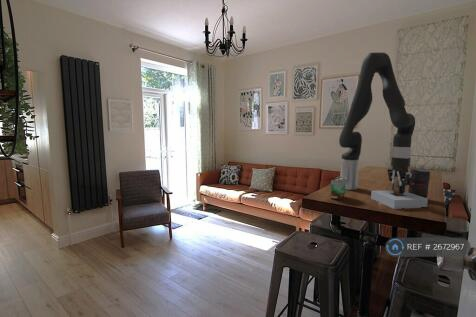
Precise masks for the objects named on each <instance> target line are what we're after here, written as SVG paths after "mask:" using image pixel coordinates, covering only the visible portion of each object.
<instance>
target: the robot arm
mask: <svg viewBox="0 0 476 317" xmlns="http://www.w3.org/2000/svg"><path fill="white" fill-rule="evenodd" d="M375 74H378V75H379V77H380V78H381V82H382V97H383V100H384V102H385V104H386V106H387V108H388V114H389V118H390V121H391V123H392V125H393V126H394V127H395V128H396V130H397V131H396V133H395V134H394V136H393V142H392V149H391V161H390V166H391V167H392V168H390V169H389V168H388V169H387V174H388V182H391V184H392V187H391V190H392V191H394V180H395V177H398V181H399V184H400V186H399V193H400V194H404V192H405V191H406V186H409V184H410V182H411V180H412V177H413V174H410V171H409V168H410V167H411V157H412V147H411V146H412V136H413V134H414V131H415V126H416V118H415V116H414V115H413V114H411V113H408V112H407V109H406V108H405V106H406V101H405V98H404V96H403V95H402V92H401V90H400V88H399V86H398V82H397V80H396V75H395V72H394V68H393V64H392V61H391V58H390V56H389V54H388V53H386V52H370V53H367V54H366V55H365V56H364V57H363V61H362V63H361V67H360V73H359V76H358V82H357V85H356V88H355V92H354V95H353V98H352V102H351V104H350V107H349V108H350V109H349V112H348V115H347V118H346V120H345V123H344V125H343V127H342V130H341V132H340V135H339V138H338V142H339V143H338V145H339V146H340V147H341V148H344V149H348V151H346V152H344V153H342V154H341V160H340V161H341V163H340V164H341V165H340V175H339V177H344V178H346V180H347V184H346V187H345V190H347V191H348V190H349V191H353V190H354V191H355V190H357V189H358V182H359V163H360V161H359V160H360V156H361V152H362V144H363V137H362V134H361V133H360V131H354V129H355V128H356V126H357V125H358V124H359V123H360V122H361V121H362V120H363V119H364V118H365V117H366V116H367V114H368V113H369V112H370V109H371V106H372V102H373V92H372V90H373V89H372V84H373V83H372V82H373V79H374V76H375ZM401 178H404V179H401ZM402 181H403V183H402Z"/></svg>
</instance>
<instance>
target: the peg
mask: <svg viewBox="0 0 476 317" xmlns="http://www.w3.org/2000/svg"><path fill="white" fill-rule="evenodd" d="M401 179H404V178H401ZM402 183H403V181H402ZM399 186H400V184H399V181H398V177H395V180H394V193H393V195H395V196H402V194H400V193H399Z"/></svg>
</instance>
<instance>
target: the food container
mask: <svg viewBox="0 0 476 317" xmlns="http://www.w3.org/2000/svg"><path fill="white" fill-rule="evenodd" d="M346 184H347V180H346V178H344V177H340V175H339V176H337V177H336V178H334V179H331V180H330V199H331V200H335V199H340V200H344V199H345V193H346V189H345V187H346Z"/></svg>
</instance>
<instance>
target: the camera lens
mask: <svg viewBox="0 0 476 317" xmlns="http://www.w3.org/2000/svg"><path fill="white" fill-rule="evenodd" d="M409 173H410V174H413V177H412V180H411V182H410V184H409V185H408V190H407V192H409V193H412V194H415V195H418V196H421V197H424V198H427V197H428V194H429V184H430V179H431V171H430V170H428V169H424V168H423V169H422V168H410V171H409Z"/></svg>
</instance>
